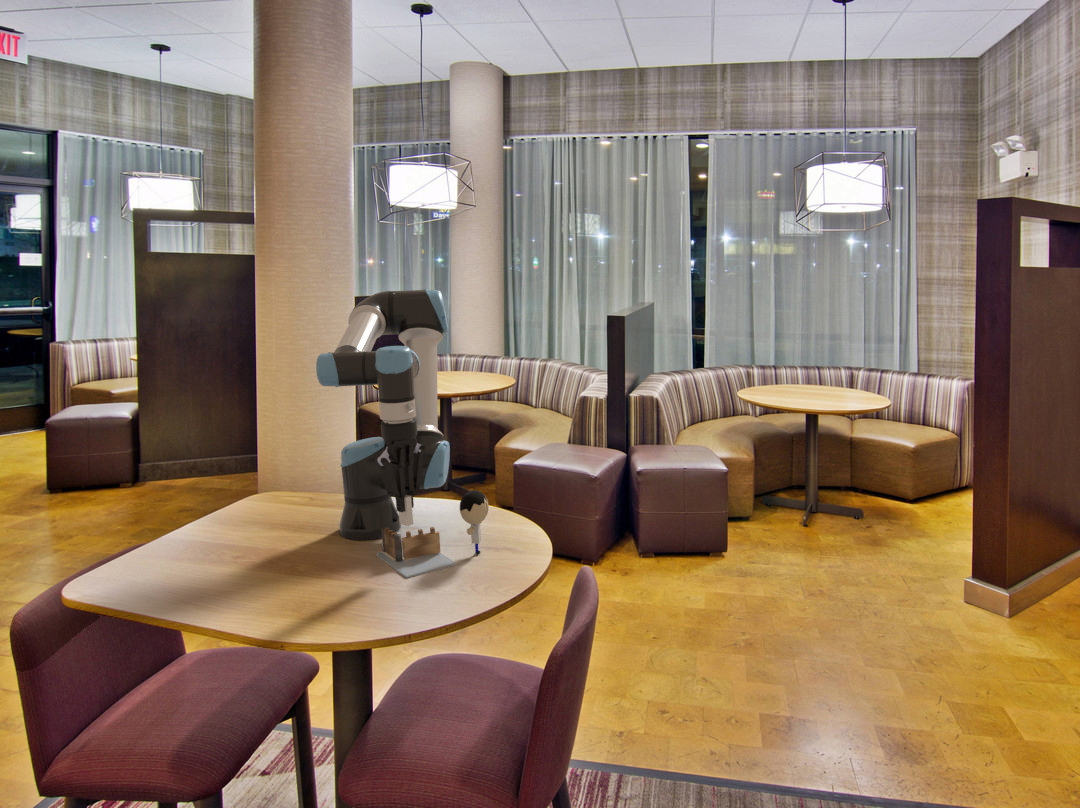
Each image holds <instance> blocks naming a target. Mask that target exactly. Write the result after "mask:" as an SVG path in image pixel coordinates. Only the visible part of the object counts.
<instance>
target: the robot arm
mask: <svg viewBox="0 0 1080 808" xmlns="http://www.w3.org/2000/svg"><path fill="white" fill-rule="evenodd" d="M347 321H348V322H347V323H348V326H347V328H346V329H345V331H344V333H343V334H342V337H341V338H340V339H341V340H339V342H338V344H337V346H336V348H335V349H334V352H326V353H320V354H318V356H317V358H316V363H315V364H316V366H315V368H316V370H315V372H316V378H317V380H318V383H319V384H320V385H321V386H323V387H335V388H338V387H340V388H341V387H353V386H356V387H357V386H359V387H360V386H377V391H378V405H379V406H378V408H379V419H380V420H382V421H381V422H380V430H381V436H376V437H375V436H374V437H368V438H367V437H366V438H364V439H359V440H356V441H352V442H350V443H349V444H347V445H345V446H343V448H342V449H341V452H340V460H341V462H340V467H341V476H342V486H343V487H342V489H343V497H344V505H343V510H342V513H341V518H340V521H339V533H340V536H342V538H343V537H344V539H348V540H358V541H365V540H366V541H367V540H368V541H369V540H376V539H382V530H381V529H382V528H384V527H388V528H390V530H393V533H394V532H396V533H397V532H398V531H400V529H401V528H402V527H401V525H402V526H405V527H410V526H412V525H414V516H413V514H414V513H413V508H414V506H415V505H414V496H416V495H417V490H420V489H421V490H422V489H425V490H428V489H433V488H434V489H435V488H441V487H442V486H444V485H445V483H446V481H447V478H448V474H449V467H450V458H451V457H450V455H451V454H450V453H451V452H450V451H451V448H450V447H451V446H450V442H449V441H447V440H444V438H445V437H444V434H443V433H442V432H441V431H440V430H439V429H438V427H439V425H438V417H439V416H438V414H439V413H438V411H439V410H438V345H439V343H441V342H442V341H443V336H444V335H443V334H447V333H448V332H449V325H448V323H449V322H448V319H447V313H446V307H445V301H444V297H443V294H442V292H441V291H440V290H437V289H426V288H423V289H415V290H414V289H413V290H384V291H380V292H377V293H375V294H372V295H370V296H368V297H366V298H364V299H363V300H361V301H360V302H359V303H357V304H356V306H354V307H353V309H352V310H351V312H350V313H349V316H348V320H347ZM384 335H386V336H387V335H388V336H389V335H398V340H399V341H400V342H401V343H402V344H403V345H389V346H388V345H387V346H383V347H379V348H377V349H376V350H374V351H373V348H374V345H375V343H376V341H377V339H378V338H380V337H381V336H384ZM393 498H395V503H396V504H395V503H394V501H393Z"/></svg>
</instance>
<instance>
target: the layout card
mask: <svg viewBox="0 0 1080 808" xmlns="http://www.w3.org/2000/svg"><path fill="white" fill-rule="evenodd" d="M402 555H403V546H402ZM376 557H378V558H380V560H382V561H383V562H384V563H386V564H387V565H388V566H389V567H391V568H393V569H394V570H395V571H396V572H398V573H399V574H400V575H401V576H403V577H404V578H405V579H408V578H412V577H416V576H419V575H423V574H428V573H430V572H435V571H438V570H441V569H445V568H449V567H453V566H456V565H457V562H456V561H454V560H452V559H451V558H449V557H448V556H446V555H445V554H443V553H442V552H440V553H435V554H429V555H424V556H419V557H413V558H408V559H404V558H403V561H401V562H396V560H395V559H394V558H393V557H391V556H390V555H389V554H387V553H386V552H383V551H382V552H377V553H376Z"/></svg>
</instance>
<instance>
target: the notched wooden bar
mask: <svg viewBox="0 0 1080 808" xmlns="http://www.w3.org/2000/svg"><path fill="white" fill-rule="evenodd" d="M417 532H418V534H414V535H412V533H411V531H405V535H406V536H403V537H402V536H401V541H402V547H403V558H404V559H408V558H413V557H419V556H424V555H429V554H435V553H441V541H440V539H441V538H440V531H438V530H437V531H436V530H435V527H434V526H431V527H430V528H429V532H425V533H424V530H423V529H422V528H418V529H417Z"/></svg>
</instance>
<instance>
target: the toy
mask: <svg viewBox="0 0 1080 808" xmlns="http://www.w3.org/2000/svg"><path fill="white" fill-rule="evenodd" d="M489 506H490V505H489V500H488V498H487V497H486V495H485V494H484V493H483V492H481V491H479V490H469V491H467V492H466V493H465V494H464V495H463V496H462V497H461V500H460V502H459V514H460V515H461V518H462V520H464V522H466V523H467V524H469V525H470V526H469V527H468V528H467V529H466V533H467V534H468V535H470V536H471V538H470V539H471V544H474V547H475V552H474V554H475V555H480V554H481V550H479V544H480V543H481V541H482V536H481V535H482V534H481V532H482V531H481V524H482V523H483V521H485V519H486V517H487V516H488V514H489Z"/></svg>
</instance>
